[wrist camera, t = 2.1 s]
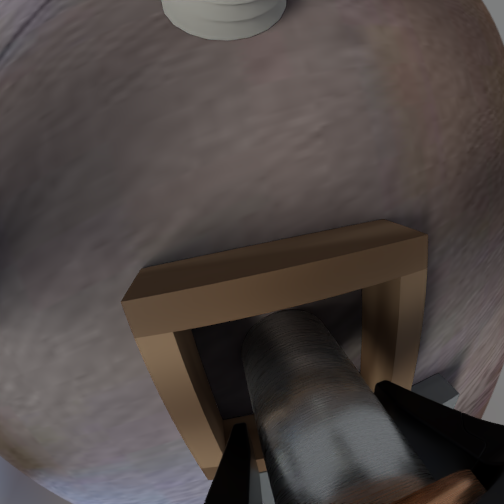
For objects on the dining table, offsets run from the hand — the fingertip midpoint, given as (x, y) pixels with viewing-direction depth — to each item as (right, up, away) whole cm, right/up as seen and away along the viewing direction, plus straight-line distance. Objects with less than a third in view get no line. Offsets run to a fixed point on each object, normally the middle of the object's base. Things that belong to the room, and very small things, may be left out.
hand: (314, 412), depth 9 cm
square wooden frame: (-1, +1, +4) cm, 4 cm away
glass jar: (-1, +1, +4) cm, 4 cm away
